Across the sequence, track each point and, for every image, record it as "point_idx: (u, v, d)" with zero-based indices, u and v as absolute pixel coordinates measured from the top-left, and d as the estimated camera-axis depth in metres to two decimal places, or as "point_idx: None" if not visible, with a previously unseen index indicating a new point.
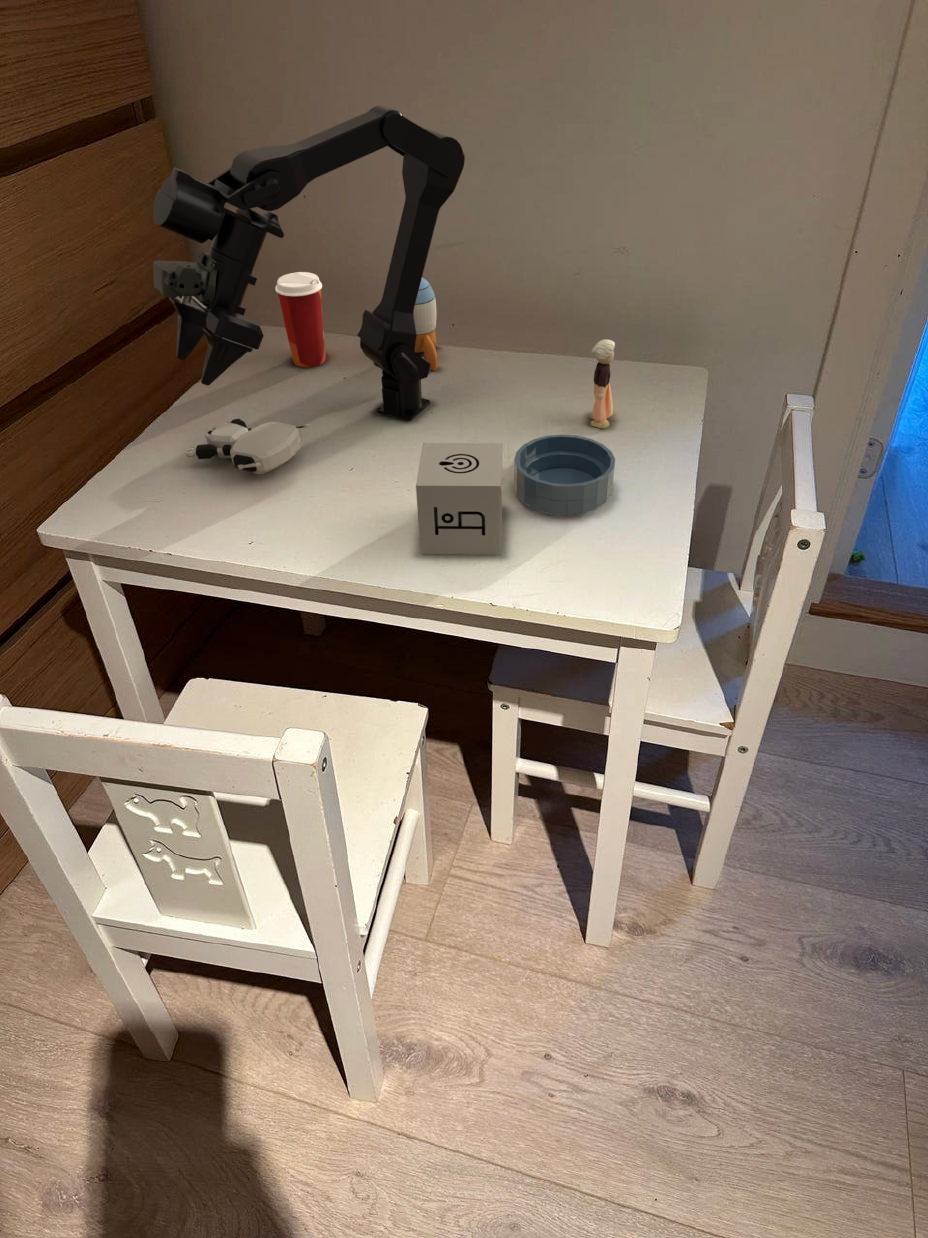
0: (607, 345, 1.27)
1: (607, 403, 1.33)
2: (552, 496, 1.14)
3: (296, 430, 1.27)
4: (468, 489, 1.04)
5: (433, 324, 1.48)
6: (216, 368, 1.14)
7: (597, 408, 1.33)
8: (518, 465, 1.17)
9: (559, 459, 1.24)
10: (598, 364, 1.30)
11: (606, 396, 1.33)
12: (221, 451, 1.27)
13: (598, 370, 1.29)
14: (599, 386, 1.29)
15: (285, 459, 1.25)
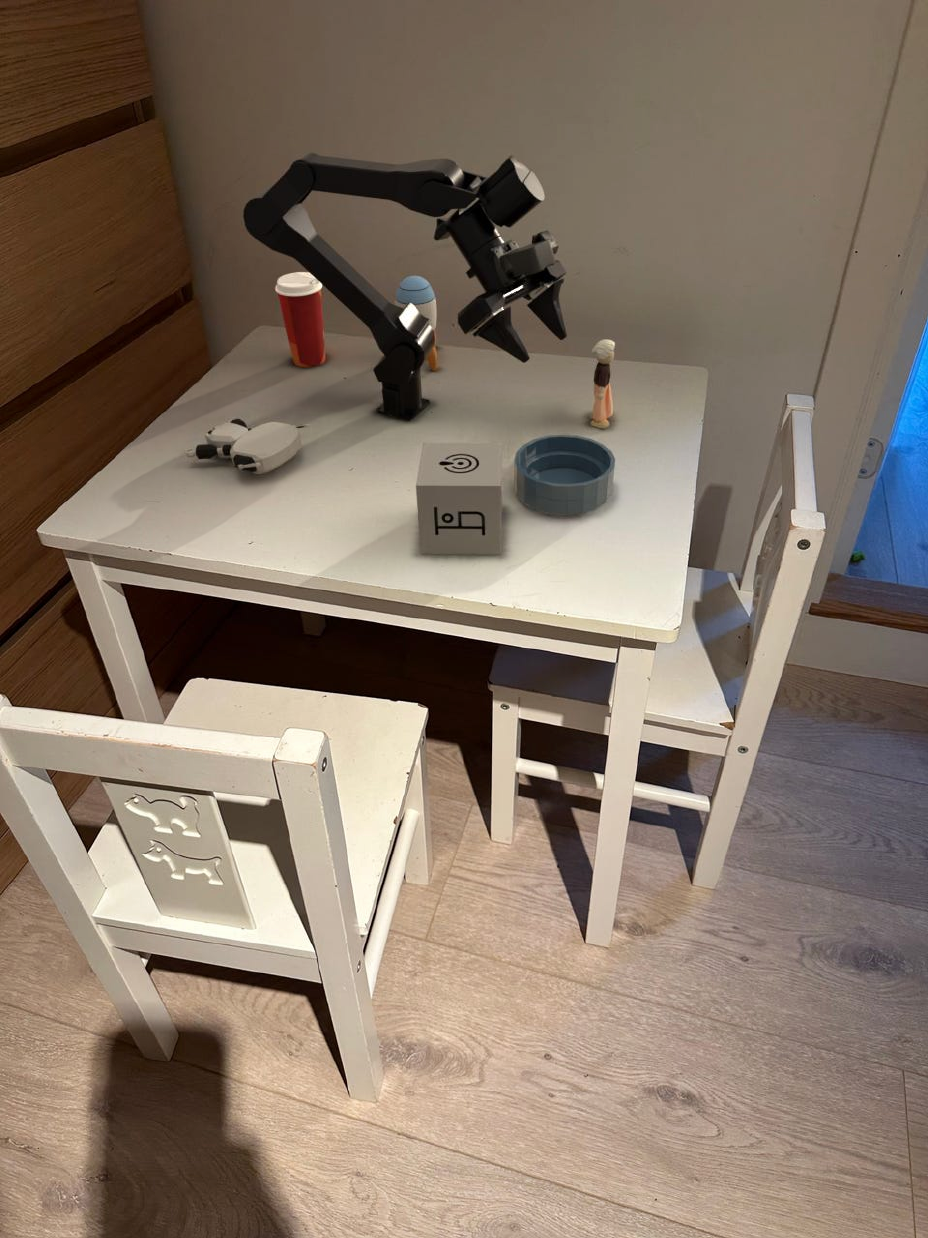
0: (607, 345, 1.27)
1: (607, 403, 1.33)
2: (552, 496, 1.14)
3: (296, 430, 1.27)
4: (468, 489, 1.04)
5: (433, 324, 1.48)
6: None
7: (597, 408, 1.33)
8: (518, 465, 1.17)
9: (559, 459, 1.24)
10: (598, 364, 1.30)
11: (606, 396, 1.33)
12: (221, 451, 1.27)
13: (598, 370, 1.29)
14: (599, 386, 1.29)
15: (285, 459, 1.25)
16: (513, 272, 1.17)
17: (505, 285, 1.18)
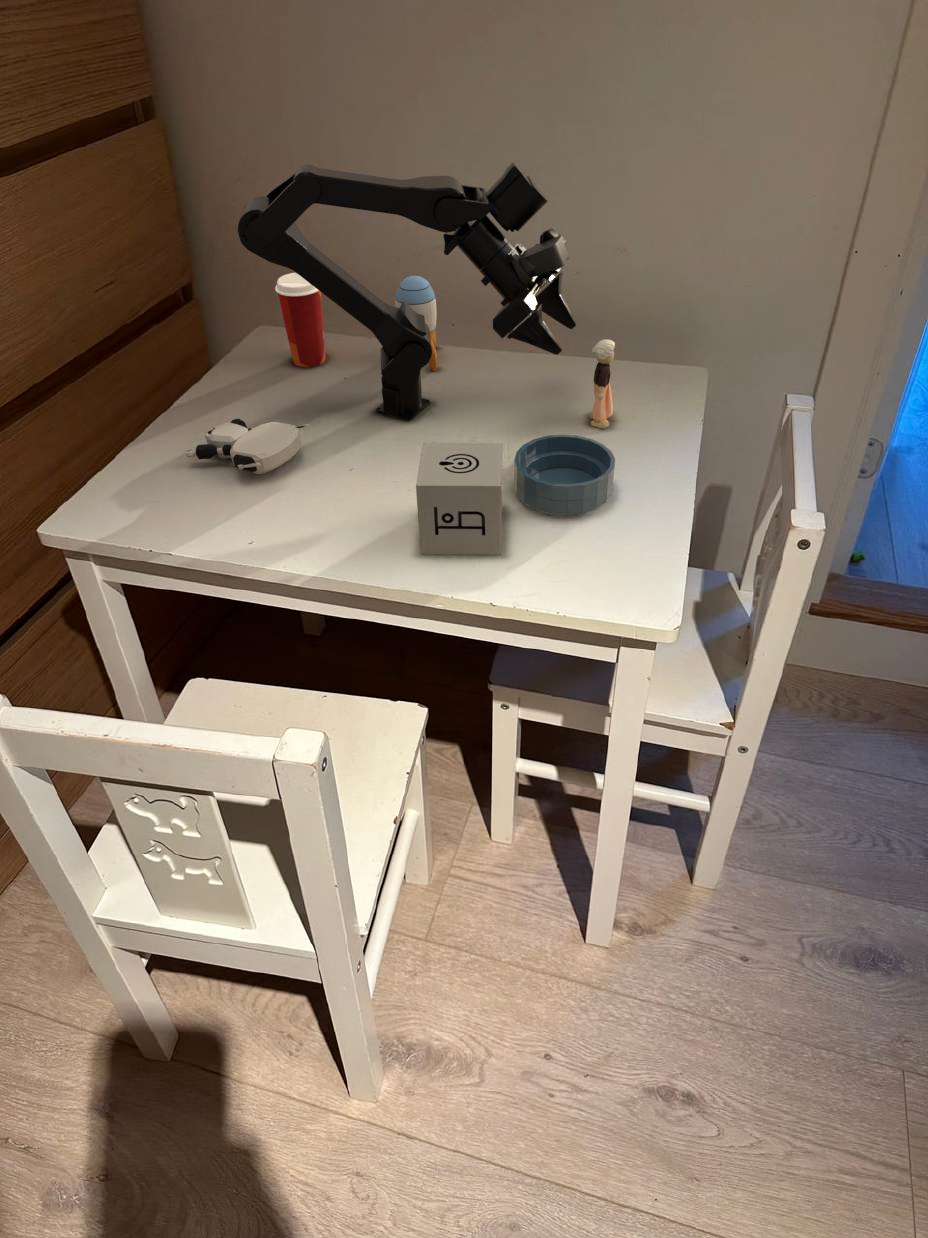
0: (608, 345, 1.27)
1: (607, 403, 1.33)
2: (552, 496, 1.14)
3: (296, 430, 1.27)
4: (468, 489, 1.04)
5: (433, 324, 1.48)
6: None
7: (597, 408, 1.33)
8: (518, 465, 1.17)
9: (559, 459, 1.24)
10: (598, 364, 1.30)
11: (606, 396, 1.33)
12: (221, 451, 1.27)
13: (598, 370, 1.29)
14: (599, 386, 1.29)
15: (285, 459, 1.25)
16: (534, 272, 1.22)
17: (528, 285, 1.23)
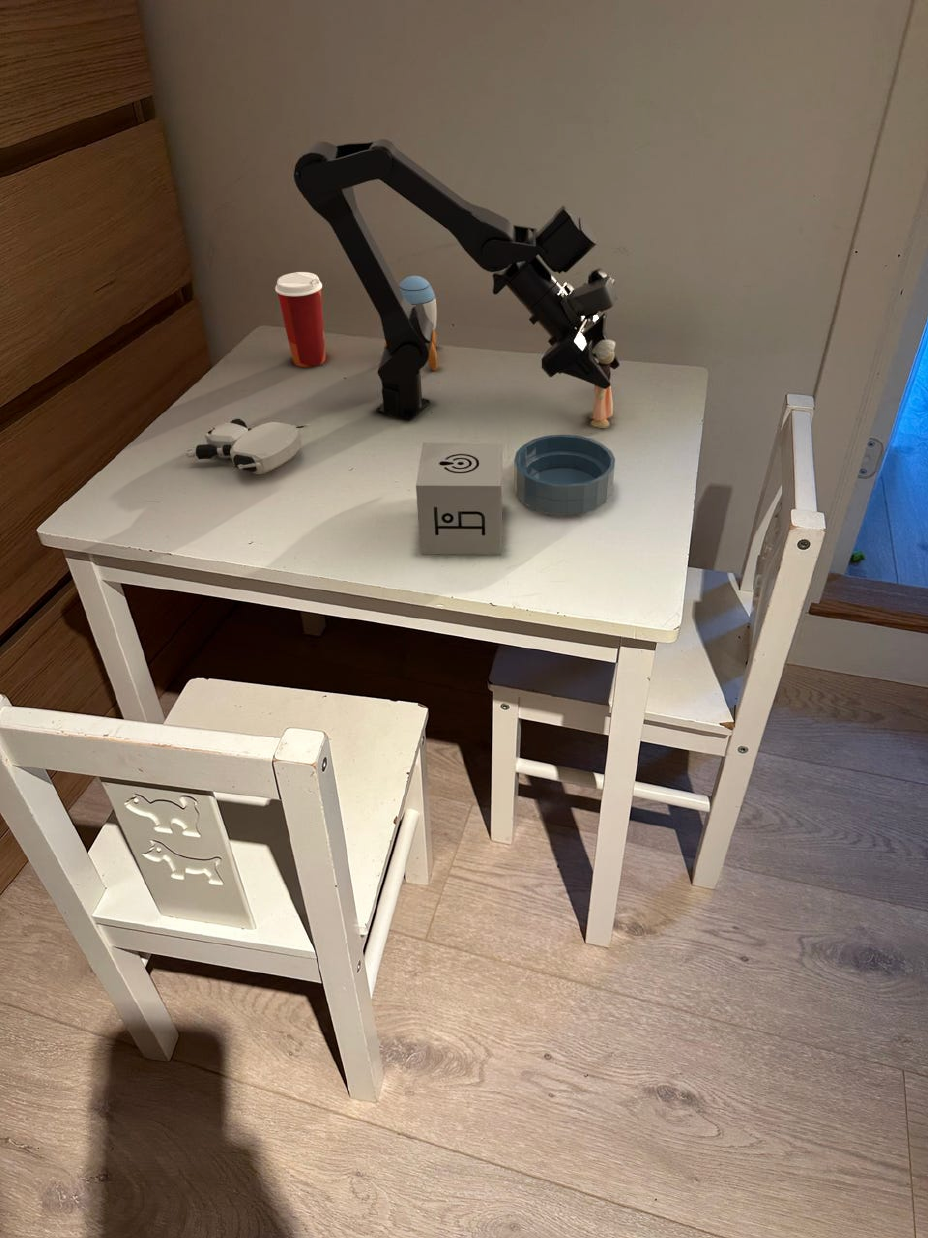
0: (608, 345, 1.27)
1: (607, 403, 1.33)
2: (552, 496, 1.14)
3: (296, 430, 1.27)
4: (468, 489, 1.04)
5: None
6: None
7: (597, 407, 1.33)
8: (518, 465, 1.17)
9: (559, 459, 1.24)
10: None
11: (606, 396, 1.33)
12: (221, 451, 1.27)
13: None
14: None
15: (285, 459, 1.25)
16: (583, 312, 1.24)
17: (576, 325, 1.25)
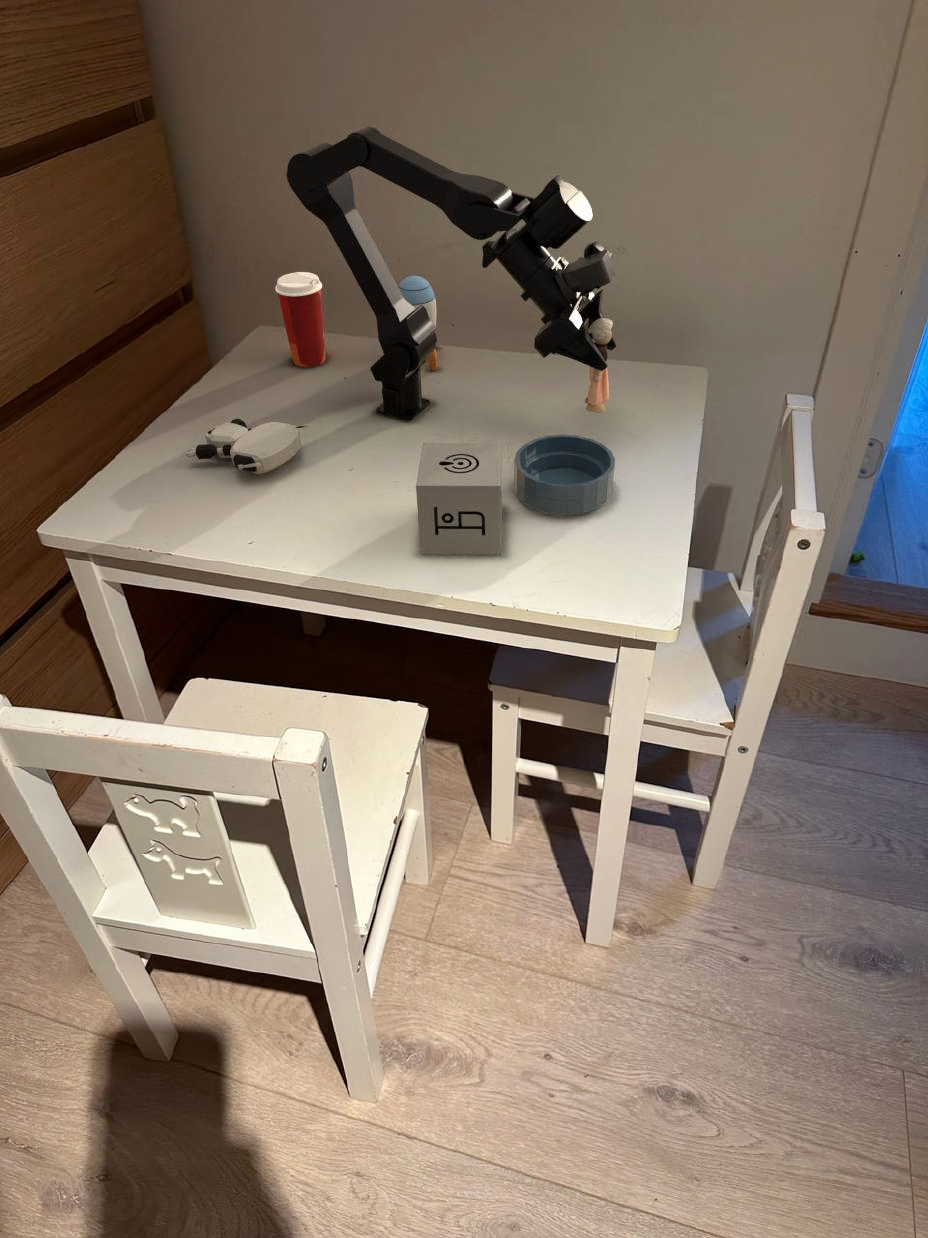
0: (605, 324, 1.19)
1: (603, 386, 1.25)
2: (552, 496, 1.14)
3: (296, 430, 1.27)
4: (468, 489, 1.04)
5: None
6: None
7: (592, 391, 1.24)
8: (518, 465, 1.17)
9: (559, 459, 1.24)
10: None
11: (602, 379, 1.25)
12: (221, 451, 1.27)
13: None
14: None
15: (285, 459, 1.25)
16: (579, 287, 1.15)
17: (571, 302, 1.16)
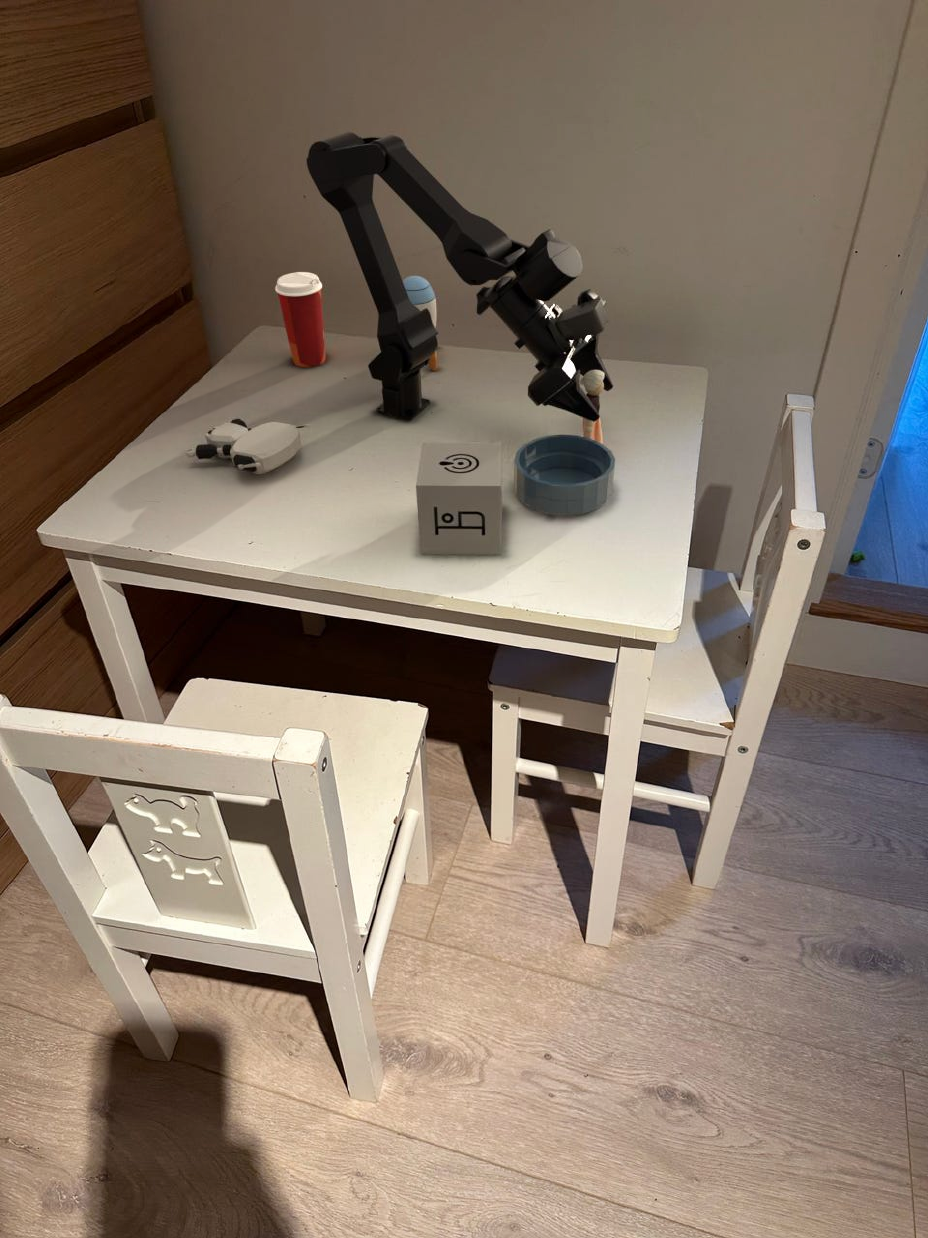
0: (596, 376, 1.20)
1: (597, 436, 1.26)
2: (552, 496, 1.14)
3: (296, 430, 1.27)
4: (468, 489, 1.04)
5: (433, 324, 1.48)
6: None
7: None
8: (518, 465, 1.17)
9: (559, 459, 1.24)
10: (587, 395, 1.23)
11: (595, 428, 1.26)
12: (221, 451, 1.27)
13: None
14: (587, 419, 1.22)
15: (285, 459, 1.25)
16: (572, 336, 1.16)
17: (565, 350, 1.17)
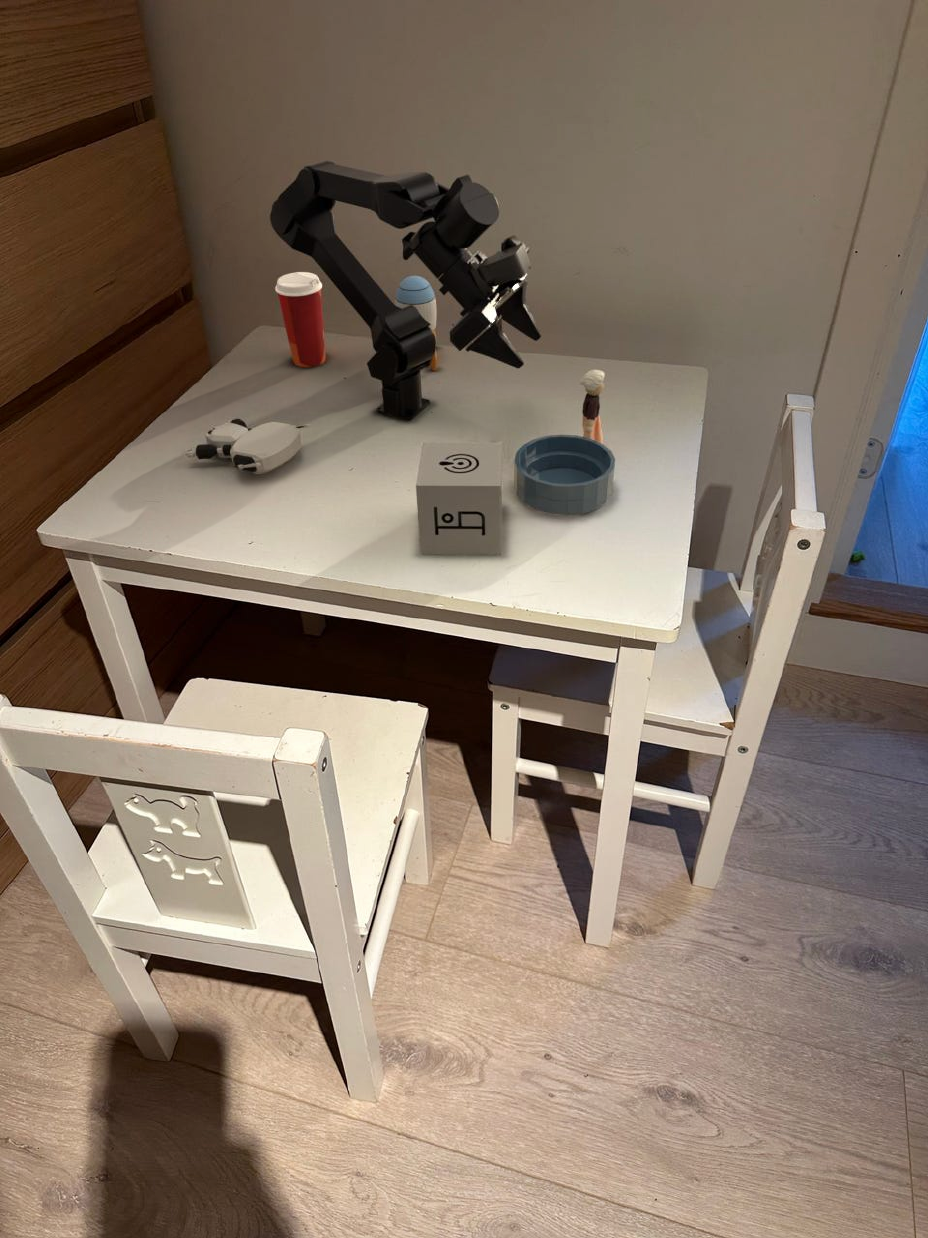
0: (596, 376, 1.20)
1: (597, 436, 1.26)
2: (552, 496, 1.14)
3: (296, 430, 1.27)
4: (468, 489, 1.04)
5: (433, 324, 1.48)
6: None
7: None
8: (518, 465, 1.17)
9: (559, 459, 1.24)
10: (587, 395, 1.23)
11: (595, 428, 1.26)
12: (221, 451, 1.27)
13: (587, 402, 1.22)
14: (587, 419, 1.22)
15: (285, 459, 1.25)
16: (495, 281, 1.16)
17: (487, 295, 1.17)
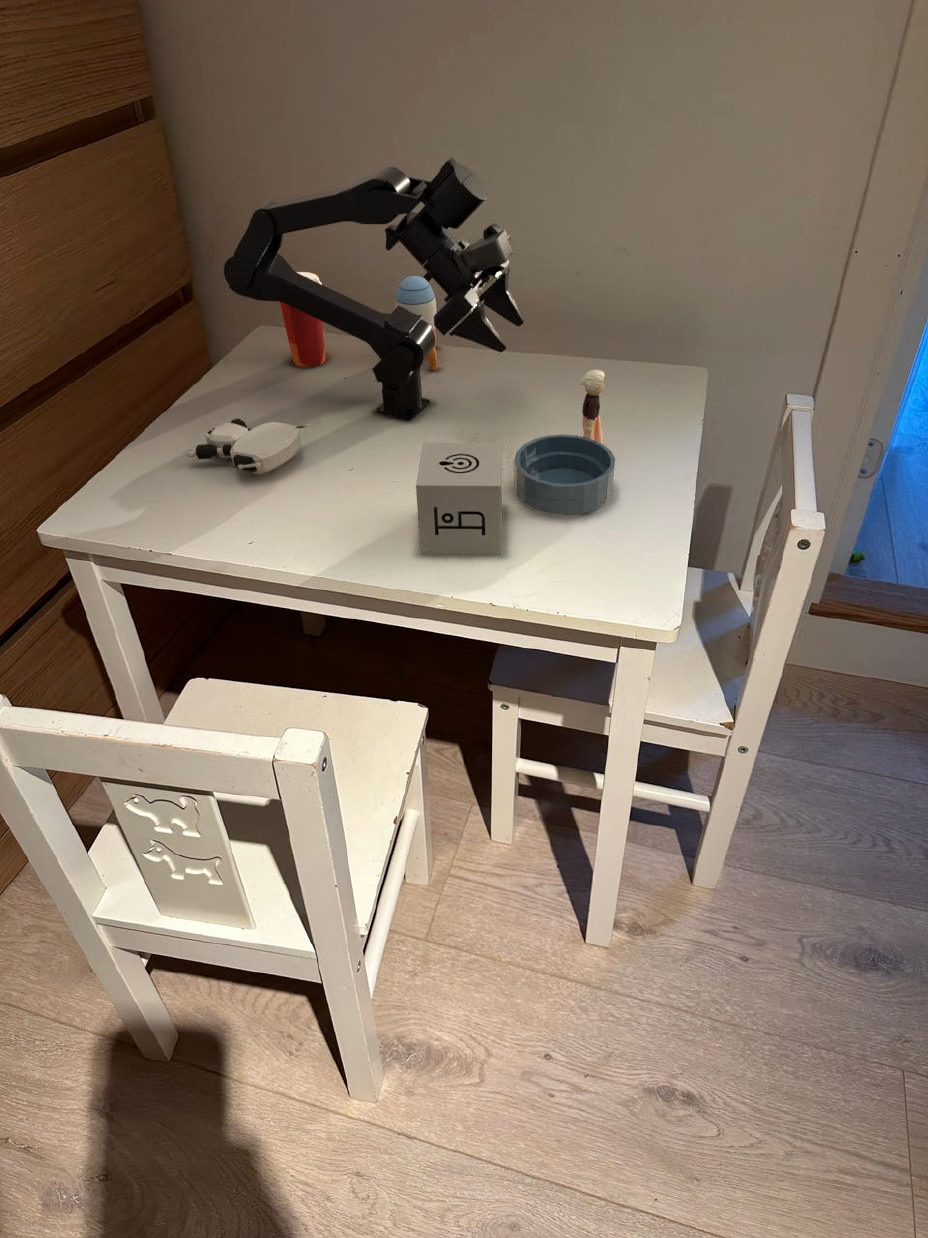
0: (596, 376, 1.20)
1: (597, 436, 1.26)
2: (552, 496, 1.14)
3: (296, 430, 1.27)
4: (468, 489, 1.04)
5: (433, 324, 1.48)
6: None
7: None
8: (518, 465, 1.17)
9: (559, 459, 1.24)
10: (587, 395, 1.23)
11: (595, 428, 1.26)
12: (221, 451, 1.27)
13: (587, 402, 1.22)
14: (587, 419, 1.22)
15: (285, 459, 1.25)
16: (477, 267, 1.20)
17: (470, 281, 1.21)
